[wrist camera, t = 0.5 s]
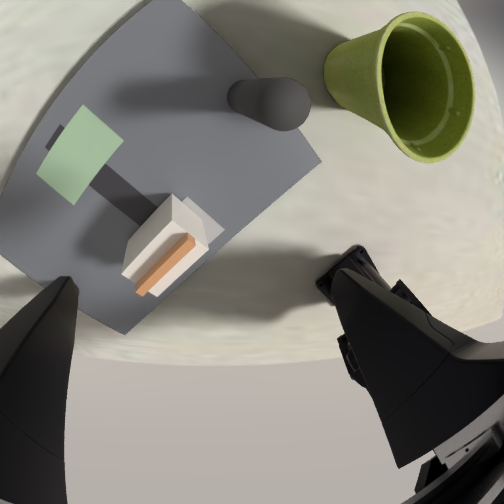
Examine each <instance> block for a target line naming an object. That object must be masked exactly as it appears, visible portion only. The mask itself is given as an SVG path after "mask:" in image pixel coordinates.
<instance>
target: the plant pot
mask: <svg viewBox="0 0 504 504" xmlns="http://www.w3.org/2000/svg"><path fill="white" fill-rule="evenodd" d="M323 72H324V81H325V85H326V88H327V90H328V91H329V93H330V94H331V95H332V97H333V98H334V99H335V101H336V102H337V103H338V104H339V105H340V106H342V107H343V108H345V109H347V110H349V111H351V112H353V113H355V114H357V115H359V116H361V117H362V118H364V119H366V120H368V121H370V122H371V123H373V124H375V125H377V126H378V127H380V128H382V129H383V130H384V131H385V132H386V133H387V134H388V135H389V136H390V138H391V139H392V141H393V142H394V143H395V145H396V146H397V147H398V148H399V149H400V150H401V151H402V152H403V153H404V154H405V155H407V156H408V157H410V158H412V159H414V160H416V161H418V162H422V163H437V162H440V161H442V160H444V159H446V158H448V157H449V156H451V155H452V154H453V153H454V152H455V151H456V150H457V149H458V148H459V146H460V145H461V144H462V142H463V141H464V139H465V137H466V135H467V133H468V130H469V128H470V125H471V122H472V117H473V113H474V106H475V85H474V79H473V73H472V69H471V65H470V62H469V59H468V57H467V54H466V52H465V50H464V48H463V46H462V44H461V43H460V41H459V40H458V39H457V37H456V36H455V35H454V33H453V32H452V31H451V30H450V29H449V27H448V26H446V25H445V24H444V23H443V22H441V21H440V20H438V19H437V18H435V17H433V16H431V15H429V14H426V13H422V12H407V13H403V14H400V15H398V16H396V17H395V18H393V19H392V20H391V21H390V22H389V23H388V24H387V25H385V26H384V27H383V28H381V29H380V30H377V31H375V32H372V33H369V34H366V35H363V36H360V37H358V38H355V39H352V40H349V41H347V42H344V43H341V44H339V45H338V46H336V47H335V48H334V49H333V50H332V51H331V52H330V53H329V54H328V56H327V58H326V60H325V64H324V71H323Z"/></svg>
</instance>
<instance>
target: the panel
mask: <svg viewBox="0 0 504 504" xmlns="http://www.w3.org/2000/svg"><path fill="white" fill-rule="evenodd" d="M248 79H259V78H258V77H257V76H256V75H255V74H254V73H253V72H252V70H251V69H250V68H249V67H248V66H247V65H246V64H245V62H244V61H243V60H242V59H241V58H240V57H239V56H238V55H237V54H236V53H235V52H234V51H233V49H232V48H231V47H230V46H229V45H228V44H227V43H226V42H225V41H224V40H223V39H222V38H221V37H220V36H219V35H218V34H217V33H216V32H215V31H214V30H213V29H212V28H211V27H210V26H209V25H208V24H207V23H206V22H205V21H204V20H203V19H202V18H201V17H199V16H198V15H197V14H196V13H195V12H194V11H193V10H192V9H191V8H190V7H189V6H187V5H186V4H185V3H184V2H183V1H182V0H152V1H151V2H150V3H148V4H147V5H146V6H145V7H143V8H142V9H141V10H140V11H138V12H137V13H136V14H135V15H134V16H132V17H131V18H130V19H129V20H128V21H127V22H125V23H124V24H123V25H122V26H121V27H120V28H119V29H118V30H117V31H115V32H114V33H113V34H112V35H111V36H110V37H109V38H108V39H107V40H106V41H105V42H104V43H103V44H102V45H101V46H100V47H99V48H98V49H97V50H96V51H95V52H94V53H93V55H92V56H91V57H90V58H89V59H88V60H87V61H86V62H85V63H84V64H83V66H82V67H81V68H80V69H79V70H78V71H77V73H76V74H75V75H74V76H73V77H72V79H71V80H70V81H69V82H68V84H67V85H66V86H65V87H64V89H63V90H62V91H61V93H60V94H59V95H58V97H57V98H56V99H55V101H54V102H53V104H52V105H51V106H50V108H49V109H48V111H47V112H46V114H45V115H44V117H43V118H42V120H41V121H40V123H39V124H38V126H37V128H36V129H35V131H34V133H33V134H32V136H31V138H30V139H29V141H28V143H27V144H26V146H25V148H24V150H23V152H22V153H21V155H20V157H19V159H18V161H17V163H16V165H15V167H14V169H13V171H12V173H11V175H10V177H9V179H8V182H7V184H6V186H5V188H4V191H3V193H2V195H1V198H0V255H1V256H3V257H4V258H5V259H6V260H8V261H9V262H10V263H11V264H13V265H14V266H15V267H17V268H18V269H19V270H21V271H22V272H23V273H25V274H26V275H27V276H29V277H30V278H31V279H33V280H34V281H36V282H37V283H39V284H40V285H41V286H43V287H44V288H46V287H47V286H48V285H49V284H51V283H52V282H53V281H54V280H55V279H57V278H58V277H59V276H71V277H72V279H73V282H74V283H75V284H76V285H77V287H78V288H79V297H78V309H79V310H80V311H82V312H84V313H85V314H87V315H89V316H90V317H92V318H94V319H96V320H97V321H99V322H101V323H103V324H105V325H106V326H108V327H110V328H112V329H114V330H116V331H118V332H120V333H122V334H123V335H126V334H127V333H128V332H129V331H130V330H131V329H132V328H133V327H134V326H135V325H136V324H137V323H139V322H140V321H141V320H142V319H143V318H144V317H145V316H146V315H147V314H148V313H149V312H150V311H152V310H153V309H154V308H155V307H156V306H157V305H158V304H159V303H160V302H161V301H162V300H163V299H165V298H166V297H167V296H168V295H169V294H170V293H171V292H172V291H173V290H174V289H176V288H177V287H178V286H179V285H180V284H181V283H182V282H183V281H184V280H185V279H187V278H188V277H189V276H190V275H191V274H192V273H193V272H194V271H196V270H197V269H198V268H199V267H200V266H201V265H202V264H203V263H204V262H206V261H207V260H208V259H209V258H210V257H211V256H212V255H213V254H215V253H216V252H217V251H218V250H219V249H220V248H221V247H223V246H224V245H225V244H226V243H227V242H228V241H229V240H230V239H232V238H233V237H234V236H235V235H236V234H237V233H238V232H240V231H241V230H242V229H243V228H244V227H245V226H247V225H248V224H249V223H250V222H251V221H252V220H253V219H255V218H256V217H257V216H258V215H259V214H260V213H262V212H263V211H264V210H265V209H266V208H267V207H269V206H270V205H271V204H272V203H273V202H274V201H276V200H277V199H278V198H279V197H280V196H281V195H283V194H284V193H285V192H286V191H287V190H288V189H290V188H291V187H292V186H293V185H294V184H296V183H297V182H298V181H299V180H300V179H302V178H303V177H304V176H305V175H306V174H308V173H309V172H310V171H311V170H312V169H313V168H315V167H316V166H317V165H318V164H320V163H321V162H322V161H321V160H320V158H319V157H318V155H317V154H316V153H315V151H314V150H313V148H312V147H311V145H310V144H309V143H308V141H307V140H306V138H305V137H304V136H303V134H302V133H301V131H300V130H299V129H298V128H296V129H294V130H291V131H277V130H274V129H272V128H269V127H267V126H265V125H263V124H261V123H259V122H257V121H255V120H253V119H250V118H248V117H246V116H244V115H242V114H239V113H237V112H235V111H234V110H232V109H231V107H230V106H229V104H228V101H227V93H228V90H229V88H230V87H231V86H232V85H233V84H234V83H236V82H237V81H240V80H248ZM171 194H173V195H174V196H176V197H177V198H178V199H179V200H180V201H181V202H183V203H184V204H185V205H186V206H187V207H188V208H189V209H191V210H192V211H193V212H194V213H195V214H196V215H198V216H199V217H200V218H201V219H202V221H203V226H204V230H205V235H206V239H207V244H208V248H209V250H208V251H207V252H206V253H205V254H203V255H202V256H201V257H200V258H199V259H198V260H197V261H196V262H195V263H193V264H192V265H191V266H190V267H189V268H188V269H187V270H186V271H185V272H184V273H183V274H181V275H180V276H179V277H178V278H177V279H176V280H175V281H174V282H173V283H172V284H171V285H170V286H169V287H167V288H166V289H165V290H164V291H163V292H162V293H161V294H160V295H159V296H158V297H156V296H155V295H153V294H151V293H150V292H147V293H146V294H145V295H144V296H143V297H142V296H141V295H139V294H138V293H136V292H135V288H136V283H134V282H132V281H131V280H129V279H128V278H126V277H125V276H123V275H122V274H121V273H122V267H123V262H124V257H125V252H126V248H127V243H128V240H129V239H130V238H131V237H132V236H133V235H134V233H135V232H136V231H137V230H138V229H139V228H140V227H141V226H142V225H143V223H144V222H145V221H146V220H147V219H148V218H149V217H150V216H151V215H152V214H153V213H154V212H155V211H156V209H157V208H158V207H159V206H160V205H161V204H162V203H163V202H164V201H165V200H166V199H167V198H168V197H169V196H170V195H171Z"/></svg>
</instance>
